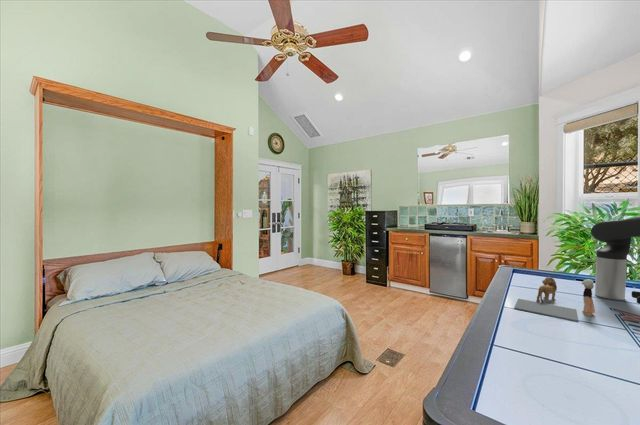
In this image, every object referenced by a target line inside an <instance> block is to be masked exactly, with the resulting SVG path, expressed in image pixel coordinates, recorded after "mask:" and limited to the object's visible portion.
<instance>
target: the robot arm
mask: <svg viewBox="0 0 640 425" xmlns="http://www.w3.org/2000/svg"><path fill="white" fill-rule="evenodd" d="M590 234H591V236H592V238H593V239H595V240H596V241H599V242H602V243H606V244H605V245H604V246H603V247H601V248H600V249H597V250H596V253H595V254H596V255H595V285H594V295H595V296H597V297H601V298H604V299H610V300H617V301H625V299H626V289H627V288H626V284H627V283H626V281H627V257H628V255H629V253H630V251H631V250H630V249H631V242H632V238H634V237H635V238H638V237H639V238H640V215H636V216H634V217H629V218H625V219H617V220H616V219H615V220H604V221H598V222H597V223H595V224H594V225H593V226H592V227H591V229H590ZM631 297H632V298H634V299H636V303H637V304H638V305H640V291H634V290H633V291H631Z"/></svg>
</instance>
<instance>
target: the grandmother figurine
mask: <svg viewBox="0 0 640 425" xmlns="http://www.w3.org/2000/svg"><path fill="white" fill-rule="evenodd" d="M581 285H583V286H584V290H583V294H582V295H583V296H582V297H583V298H582V299H583V304H584V306H583V310H582V312H581V313H582V315H585V316H589V317H593V316H594V315H593V314H595V313H596V312H595V311H596V310H595V309H596V308H595V304H594V300H593V298H592V297H593V290H592V289H594V288H595V285H594V281H593V279H591V278H587V279H584V280H583V281H582V282H581Z"/></svg>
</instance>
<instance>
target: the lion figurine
mask: <svg viewBox="0 0 640 425" xmlns="http://www.w3.org/2000/svg"><path fill="white" fill-rule="evenodd" d="M541 283H542V284H543V285H541V286H539V287H538V293H537V296H536V302H539V303H544V300H543V299H545V301H546V302H547V304H551V303H552V302H551V301H550V300H549V298H550V295H551V300H552V301H556V298H555V296H556V292H557V288H558V287H557V283H556V280H555V279H554V278H553V277H552V276H547V277H545V279H543V280H541ZM543 294H544V297H543Z"/></svg>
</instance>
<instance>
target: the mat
mask: <svg viewBox="0 0 640 425" xmlns="http://www.w3.org/2000/svg"><path fill="white" fill-rule="evenodd" d="M513 308H514V310H518V311H523V312H528V313H533V314H538V315H542V316H548V317H553V318H556V319H562V320H567V321H572V322H576V323H579V316H578V310H577V309H576V308H570V307H565V306H561V305H560V306H559V305H555V304H551V303H545V302H543V303H542V302H537V301H532V300H529V299H528V300H527V299H523V298H522V299H521V298H517V301H516V303H515V306H514V307H513Z"/></svg>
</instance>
